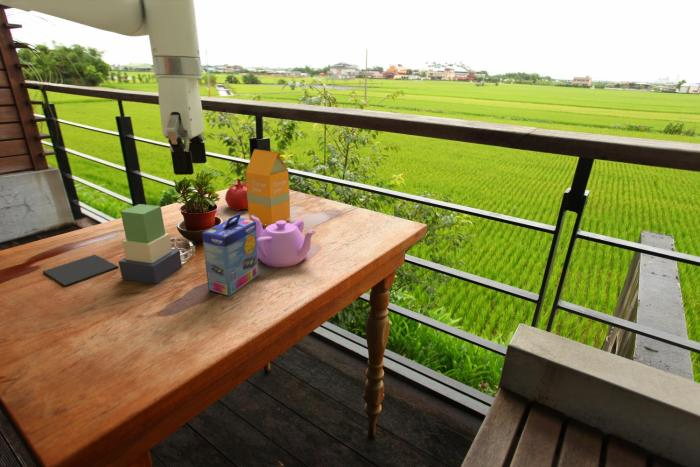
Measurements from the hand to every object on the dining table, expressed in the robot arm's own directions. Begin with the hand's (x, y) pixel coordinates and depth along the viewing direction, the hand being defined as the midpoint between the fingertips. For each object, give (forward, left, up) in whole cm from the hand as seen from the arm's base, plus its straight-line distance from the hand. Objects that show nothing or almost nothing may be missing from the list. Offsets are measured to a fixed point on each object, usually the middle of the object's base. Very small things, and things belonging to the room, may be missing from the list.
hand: (191, 168), depth 73 cm
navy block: (-9, -6, -22) cm, 25 cm away
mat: (-22, -14, -22) cm, 34 cm away
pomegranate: (-28, +35, -22) cm, 50 cm away
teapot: (+8, +15, -22) cm, 28 cm away
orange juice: (-12, +31, -22) cm, 40 cm away
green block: (-9, -6, -14) cm, 18 cm away
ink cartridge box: (+8, +1, -22) cm, 24 cm away
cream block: (-9, -6, -18) cm, 21 cm away
